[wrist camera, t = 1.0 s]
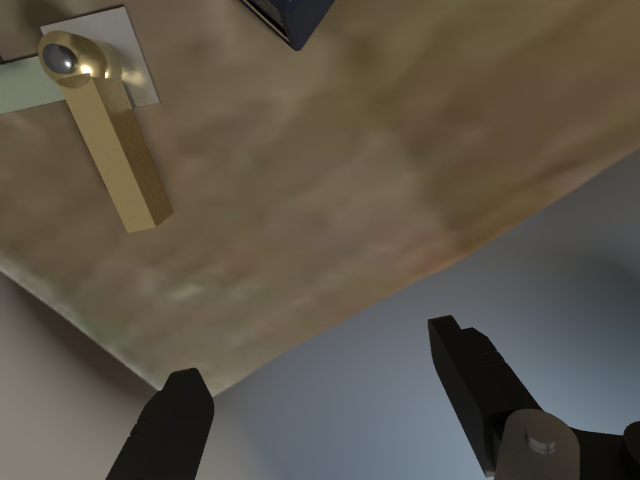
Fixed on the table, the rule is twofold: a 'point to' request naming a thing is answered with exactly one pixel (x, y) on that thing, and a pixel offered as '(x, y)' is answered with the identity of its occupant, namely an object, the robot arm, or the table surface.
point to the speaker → (290, 17)
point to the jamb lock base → (121, 45)
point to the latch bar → (111, 130)
